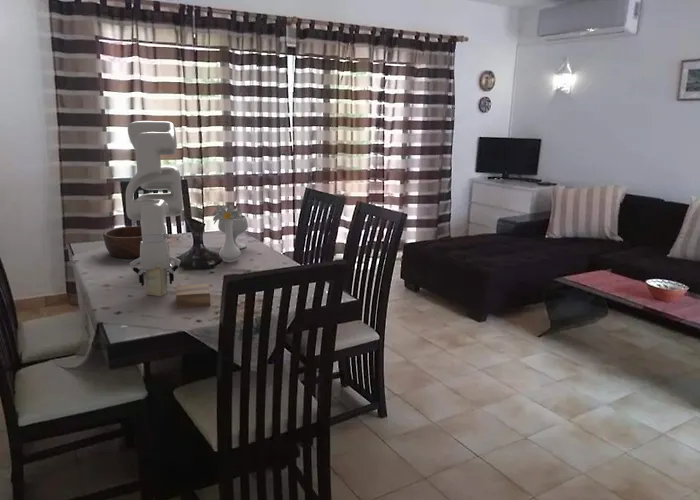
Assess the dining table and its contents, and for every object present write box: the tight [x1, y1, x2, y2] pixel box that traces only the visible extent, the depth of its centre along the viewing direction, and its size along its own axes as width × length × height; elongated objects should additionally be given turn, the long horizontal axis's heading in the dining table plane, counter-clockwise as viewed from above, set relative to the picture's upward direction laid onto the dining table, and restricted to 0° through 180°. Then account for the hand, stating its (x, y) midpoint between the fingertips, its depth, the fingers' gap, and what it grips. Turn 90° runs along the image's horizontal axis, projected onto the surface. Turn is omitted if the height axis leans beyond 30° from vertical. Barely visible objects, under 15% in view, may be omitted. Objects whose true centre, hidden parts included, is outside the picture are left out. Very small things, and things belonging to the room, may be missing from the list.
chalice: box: [217, 214, 249, 250], centre depth 267 cm, size 14×14×15 cm
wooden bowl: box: [102, 225, 142, 259], centre depth 253 cm, size 25×25×10 cm
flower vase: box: [211, 204, 244, 263], centre depth 243 cm, size 13×18×25 cm
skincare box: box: [145, 263, 168, 297], centre depth 200 cm, size 6×4×12 cm
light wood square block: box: [175, 283, 211, 309], centre depth 193 cm, size 11×11×5 cm
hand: (157, 283), depth 200 cm, fingers open, 9 cm apart
